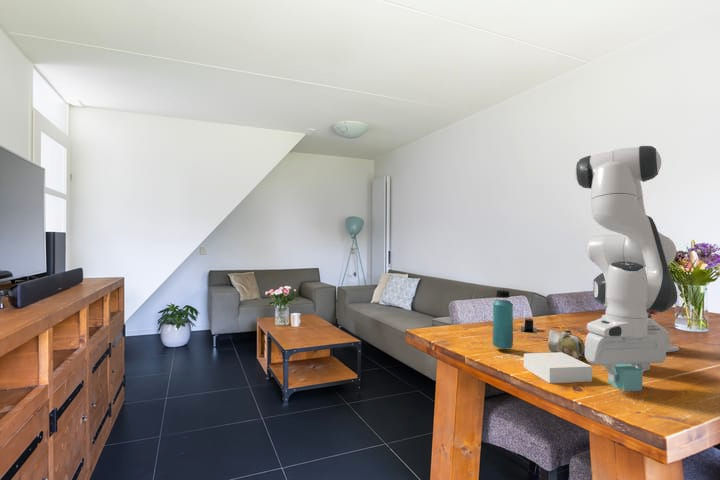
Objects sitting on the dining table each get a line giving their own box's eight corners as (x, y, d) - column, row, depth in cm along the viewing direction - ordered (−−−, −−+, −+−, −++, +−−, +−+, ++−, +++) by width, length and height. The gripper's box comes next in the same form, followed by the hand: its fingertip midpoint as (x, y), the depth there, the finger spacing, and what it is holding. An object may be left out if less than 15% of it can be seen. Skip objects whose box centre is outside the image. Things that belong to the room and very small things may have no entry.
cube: (625, 382, 99) (625, 363, 99) (642, 390, 94) (642, 370, 94) (608, 383, 98) (608, 364, 98) (624, 391, 93) (624, 371, 93)
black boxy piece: (539, 336, 146) (540, 323, 146) (518, 334, 149) (518, 321, 149) (537, 328, 159) (537, 316, 159) (517, 326, 162) (518, 314, 161)
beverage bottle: (514, 354, 122) (515, 292, 121) (493, 352, 123) (494, 291, 123) (511, 348, 128) (511, 289, 128) (490, 346, 129) (491, 288, 129)
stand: (561, 365, 111) (561, 352, 111) (591, 381, 99) (592, 366, 99) (523, 367, 109) (523, 353, 109) (549, 383, 98) (549, 368, 98)
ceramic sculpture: (562, 322, 128) (604, 336, 114) (561, 347, 129) (602, 364, 115) (538, 325, 124) (578, 340, 110) (536, 351, 125) (576, 369, 111)
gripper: (651, 322, 100) (650, 374, 100) (580, 324, 98) (579, 377, 98) (673, 328, 94) (672, 383, 94) (599, 330, 91) (598, 386, 91)
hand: (624, 380), depth 96 cm, fingers closed on cube, 5 cm apart
